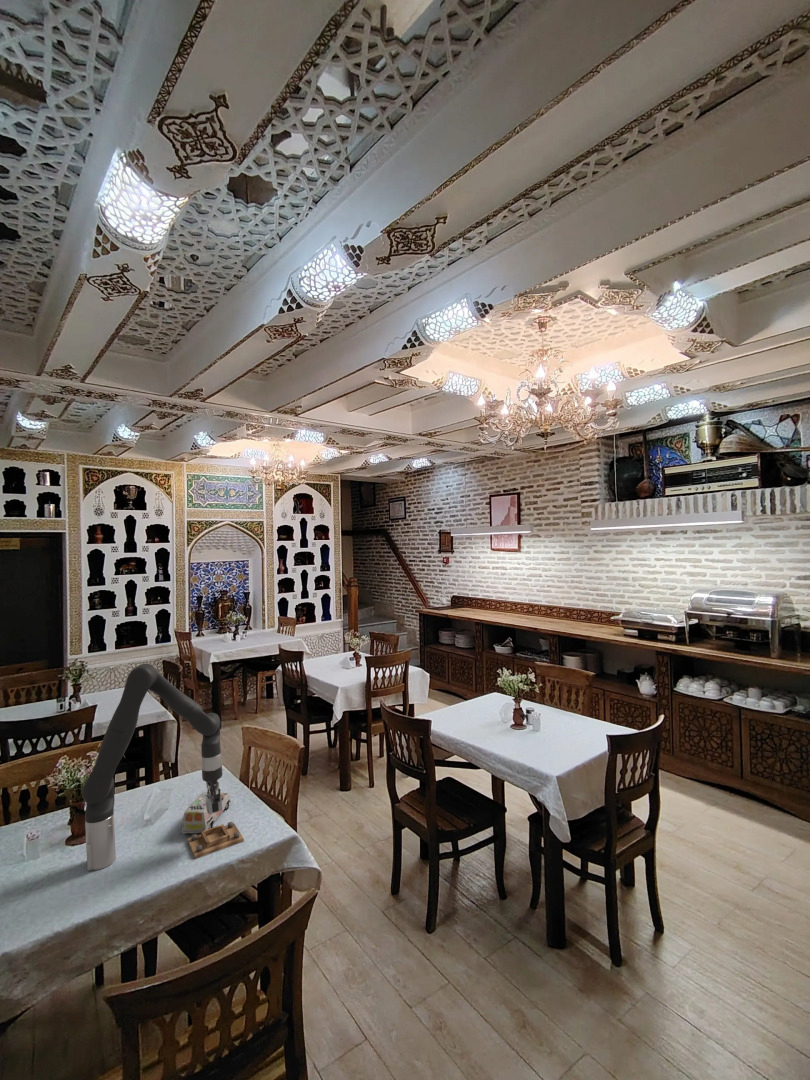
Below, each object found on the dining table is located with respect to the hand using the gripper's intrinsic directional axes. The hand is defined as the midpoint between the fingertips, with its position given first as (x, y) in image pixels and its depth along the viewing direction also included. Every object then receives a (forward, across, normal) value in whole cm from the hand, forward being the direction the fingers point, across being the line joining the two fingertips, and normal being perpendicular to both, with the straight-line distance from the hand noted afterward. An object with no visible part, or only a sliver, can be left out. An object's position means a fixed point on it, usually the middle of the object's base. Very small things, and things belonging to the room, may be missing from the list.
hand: (214, 808), depth 201 cm
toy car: (+13, -19, +1) cm, 23 cm away
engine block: (+1, 0, 0) cm, 1 cm away
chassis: (+13, 0, 0) cm, 13 cm away
